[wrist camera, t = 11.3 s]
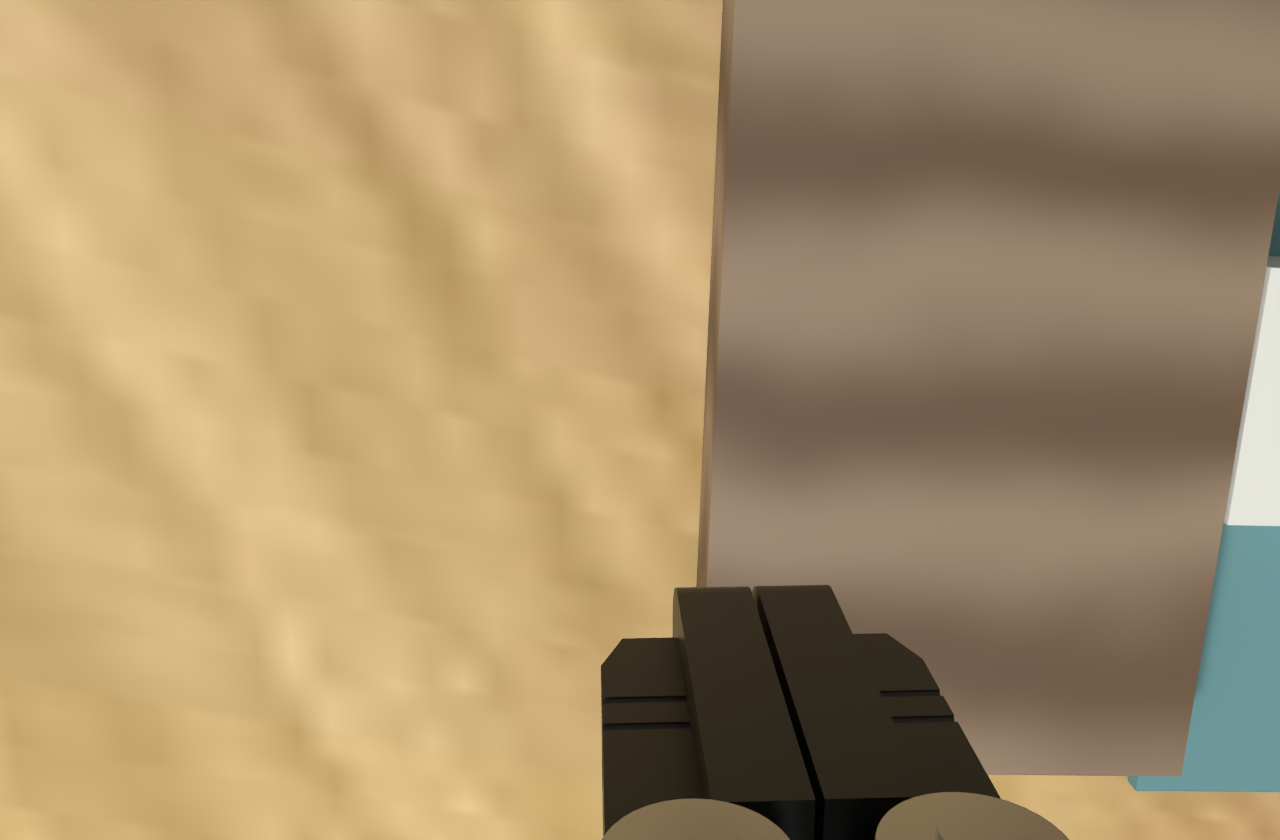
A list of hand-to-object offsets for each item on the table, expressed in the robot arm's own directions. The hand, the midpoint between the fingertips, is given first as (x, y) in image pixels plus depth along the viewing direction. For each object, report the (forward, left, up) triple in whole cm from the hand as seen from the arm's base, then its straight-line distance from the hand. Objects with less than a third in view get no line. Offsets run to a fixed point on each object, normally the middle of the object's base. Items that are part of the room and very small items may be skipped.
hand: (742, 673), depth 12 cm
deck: (+2, +9, -23) cm, 24 cm away
